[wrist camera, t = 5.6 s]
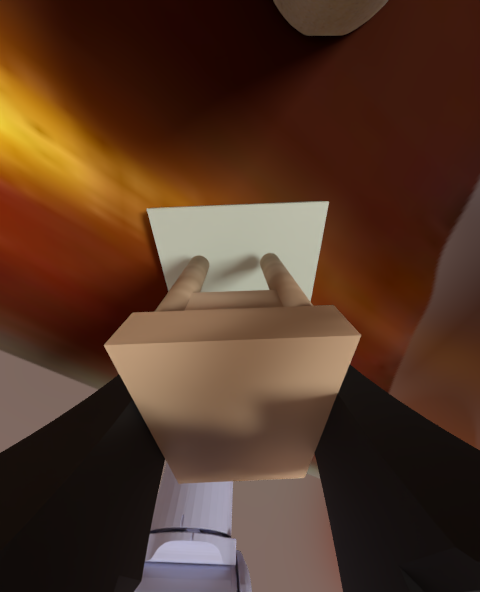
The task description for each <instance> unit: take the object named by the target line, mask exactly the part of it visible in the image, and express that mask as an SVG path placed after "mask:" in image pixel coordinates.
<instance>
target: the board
mask: <svg viewBox="0 0 480 592" xmlns="http://www.w3.org/2000/svg"><path fill="white" fill-rule="evenodd" d="M328 204H329V202H327V201H313V202H288V203H263V204H237V205H212V206H187V207H162V208H149V209H147V212H148V216H149V220H150V224H151V228H152V231H153V235H154V239H155V243H156V247H157V250H158V254H159V258H160V262H161V265H162V269H163V273H164V277H165V281H166V284H167V288H168V292H169V290H170V289H171V287H172V286H173V285H174V283H175V282H176V280H177V279H178V277H179V276H180V275H181V273H182V272H183V270H184V269H185V268H186V266H187V265H188V263H189V262H190V260H191V259H192V258H193V257H194V256H197V255H200V256H204V257H205V258H206V259H207V260H208V261H209V270H208V272H207V275H206V278H205V281H204V283H203V286H202V289H201V292H225V291H253V290H269V287H268V285H267V282H266V279H265V277H264V274H263V271H262V269H261V266H260V260H261V258H262V257H263V256H264V255H265V254H267V253H274V254H275V255H277V256H278V258H279V259H280V261H281V262H282V263H283V265H284V266H285V267H286V269H287V270H288V272H289V273H290V274H291V276H292V277H293V278H294V280H295V281H296V283H297V284H298V285H299V287H300V288H301V289H302V291H303V292H304V294H305V295H306V296H307V298H308V299H309V301H311V296H312V290H313V285H314V279H315V274H316V269H317V263H318V258H319V253H320V247H321V242H322V236H323V231H324V226H325V220H326V215H327V209H328Z"/></svg>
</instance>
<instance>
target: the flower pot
mask: <svg viewBox="0 0 480 592" xmlns="http://www.w3.org/2000/svg"><path fill="white" fill-rule="evenodd" d="M273 1H274V3H275V5H276V6H277V8H278V10H279V11H280V13H281V14H282V15H283V17H284V18H285V19H286V20H287V21H288V23H289V24H290V25H291V26H293V27H294V28H295V29H296V30H298V31H299V32H301V33H302V34H304V35H307V36H338V35H341V36H342V35H345V34H348V33H350V32H351V31H353V30H355V29H357V28H358V27H359V26H361V25H362V24H364V23H365V22H366V21H368V20H369V19H370V18H371V17H373V16H374V15H375V14H376V13H377V12H378V11H379V10H380V9H381V8H382V7H383V6H384V5H385V4H386V2H387V1H388V0H273Z"/></svg>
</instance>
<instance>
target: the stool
mask: <svg viewBox="0 0 480 592" xmlns="http://www.w3.org/2000/svg"><path fill="white" fill-rule="evenodd" d="M260 266H261V269H262V271H263V274H264V277H265V279H266V282H267V285H268V287H269V290H253V291H225V292H201V289H202V286H203V283H204V281H205V278H206V275H207V272H208V270H209V261H208V260H207V259H206V258H205V257H204V256H200V255H197V256H194V257H193V258H192V259H191V260H190V262H189V263H188V265H187V266H186V268H185V269H184V270H183V272H182V273H181V275H180V276H179V277H178V279H177V280H176V282H175V283H174V285H173V286H172V287H171V289H170V290H169V292H168V293H167V295H166V296H165V297H164V299H163V300H162V302H161V303H160V304H159V306H158V307H157V309H156V310H155V312H134V313H132V314H131V315H130V316H129V317H128V318H127V319H126V321H125V322H124V323H123V324H122V325H121V326H120V327H119V328H118V330H117V331H116V332H115V333H114V334H113V335H112V336H111V338H110V339H109V340H108V341H107V342H106V343H105V344H104V347H105V349H106V350H107V352H108V354H109V356H110V358H111V360H112V362H113V363H114V365H115V367H116V369H117V371H118V373H119V375H120V376H121V378H122V380H123V382H124V384H125V386H126V387H127V389H128V391H129V393H130V395H131V397H132V399H133V400H134V402H135V404H136V406H137V408H138V410H139V412H140V413H141V415H142V417H143V419H144V421H145V423H146V424H147V426H148V428H149V430H150V432H151V434H152V436H153V437H154V439H155V441H156V443H157V445H158V447H159V448H160V450H161V452H162V454H163V456H164V458H165V460H166V461H167V463H168V465H169V467H170V469H171V471H172V473H173V474H174V476H175V478H176V480H177V482H178V484H183V483H205V482H226V481H248V480H269V479H291V478H305V475H306V473H307V470H308V468H309V465H310V463H311V460H312V458H313V455H314V453H315V450H316V448H317V445H318V443H319V440H320V438H321V435H322V433H323V430H324V427H325V425H326V422H327V420H328V417H329V414H330V412H331V409H332V406H333V404H334V401H335V399H336V396H337V393H338V392H339V390H340V387H341V385H342V382H343V380H344V377H345V375H346V372H347V370H348V367H349V365H350V362H351V360H352V357H353V355H354V352H355V350H356V347H357V345H358V342H359V340H360V337H361V335H360V333H359V332H358V331H357V330H356V329H355V328H354V327H353V326H352V325H351V324H350V323H349V322H348V320H347V319H346V318H345V317H344V316H343V315H342V314H341V313H340V312H339V311H338V310H337V308H336V307H335V306H334V305H325V306H313V305H312V303H311V302H310V301H309V299H308V298H307V296H306V295H305V294H304V292H303V291H302V289H301V288H300V287H299V285H298V284H297V283H296V281H295V280H294V278H293V277H292V276H291V274H290V273H289V272H288V270H287V269H286V267H285V266H284V265H283V263H282V262H281V261H280V259H279V258H278V256H277V255H275V254H274V253H267V254H265V255H264V256H263V257H262V258H261V260H260Z"/></svg>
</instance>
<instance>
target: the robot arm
mask: <svg viewBox="0 0 480 592" xmlns="http://www.w3.org/2000/svg"><path fill="white" fill-rule="evenodd" d="M315 456H316V460H317V465H318V469H319V474H320V478H321V483H322V487H323V492H324V497H325V501H326V506H327V511H328V516H329V520H330V525H331V530H332V535H333V540H334V546H335V551H336V556H337V561H338V566H339V572H340V577H341V582H342V588H343V592H480V450H478V449H476V448H474V447H473V446H471V445H469V444H468V443H466V442H464V441H463V440H461V439H459V438H457V437H456V436H454V435H452V434H451V433H449V432H447V431H445V430H444V429H442V428H441V427H439V426H438V425H436V424H434V423H433V422H431V421H429V420H428V419H426V418H425V417H423V416H422V415H420V414H418V413H417V412H415V411H414V410H412V409H411V408H409V407H408V406H406V405H404V404H403V403H402V402H400V401H398V400H397V399H396V398H394V397H393V396H391V395H390V394H388V393H387V392H385V391H384V390H383V389H381V388H380V387H379V386H377V385H376V384H374V383H373V382H372V381H370V380H369V379H368V378H366V377H365V376H364V375H362V374H361V373H360V372H358V371H357V370H356V369H355V368H354V367H352V366H351V365H349V367H348V370H347V372H346V375H345V377H344V380H343V382H342V385H341V387H340V390H339V392H338V393H337V396H336V399H335V401H334V404H333V406H332V409H331V412H330V414H329V417H328V420H327V422H326V425H325V427H324V430H323V433H322V435H321V438H320V440H319V443H318V445H317V448H316V450H315ZM164 461H165V458H164V456H163V454H162V452H161V450H160V448H159V447H158V445H157V443H156V441H155V439H154V437H153V436H152V434H151V432H150V430H149V428H148V426H147V424H146V423H145V421H144V419H143V417H142V415H141V413H140V412H139V410H138V408H137V406H136V404H135V402H134V400H133V399H132V397H131V395H130V393H129V391H128V389H127V387H126V386H125V384H124V382H123V380H122V378H121V376H120V375H118V376H116V377H115V378H114V379H112V380H111V381H110V382H109V383H107V384H106V385H104V386H103V387H102V388H100V389H99V390H98V391H96V392H95V393H94V394H92V395H91V396H89V397H88V398H87V399H85V400H84V401H82V402H81V403H79V404H78V405H76V406H75V407H73V408H72V409H70V410H69V411H67V412H66V413H64V414H63V415H61V416H60V417H58V418H57V419H55V420H54V421H52V422H50V423H49V424H47V425H46V426H44V427H43V428H41V429H39V430H38V431H36V432H34V433H33V434H31V435H30V436H28V437H26V438H25V439H23V440H21V441H20V442H18V443H16V444H15V445H13V446H11V447H10V448H8V449H6V450H5V451H3V452H1V453H0V592H252V589H251V581H250V575H249V570H248V567H247V564H246V563H245V561H244V558H243V555H242V553H241V551H239V550H236V539H235V538H231V525H232V524H231V523H232V492H233V481H226V482H205V483H183V484H178V482H177V480H176V478H175V476H174V474H173V473H172V471H171V469H170V467H169V465H168V463H166V467H165V470H164V474H163V477H162V481H161V485H160V488H159V484H160V480H161V475H162V470H163V466H164ZM158 489H159V492H158ZM157 494H158V495H157Z"/></svg>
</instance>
